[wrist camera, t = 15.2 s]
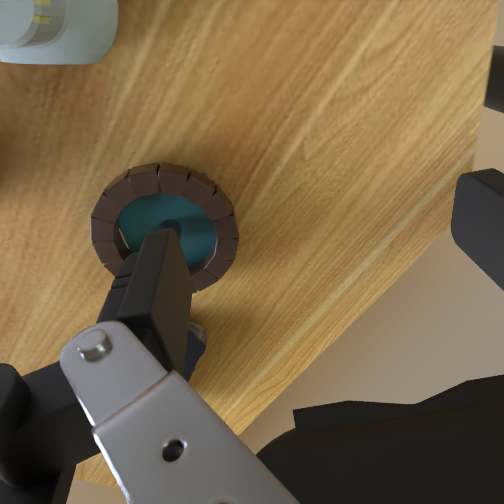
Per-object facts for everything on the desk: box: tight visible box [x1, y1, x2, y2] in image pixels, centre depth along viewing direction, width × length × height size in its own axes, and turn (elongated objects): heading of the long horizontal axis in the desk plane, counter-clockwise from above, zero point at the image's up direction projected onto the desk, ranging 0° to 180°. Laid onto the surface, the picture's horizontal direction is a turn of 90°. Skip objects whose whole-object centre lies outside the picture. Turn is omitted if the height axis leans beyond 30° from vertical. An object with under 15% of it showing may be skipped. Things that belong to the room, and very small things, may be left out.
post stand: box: [119, 173, 216, 266], centre depth 35 cm, size 10×10×11 cm
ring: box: [90, 162, 239, 293], centre depth 38 cm, size 14×14×2 cm
